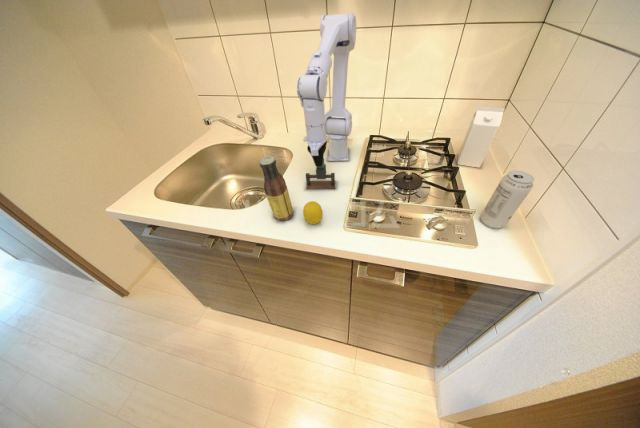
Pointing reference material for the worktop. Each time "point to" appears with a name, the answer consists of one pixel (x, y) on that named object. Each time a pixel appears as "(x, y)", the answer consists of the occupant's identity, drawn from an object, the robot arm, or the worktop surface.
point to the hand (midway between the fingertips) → (319, 164)
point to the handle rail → (320, 182)
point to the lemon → (312, 212)
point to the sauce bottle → (276, 189)
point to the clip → (321, 171)
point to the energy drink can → (507, 198)
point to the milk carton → (480, 136)
